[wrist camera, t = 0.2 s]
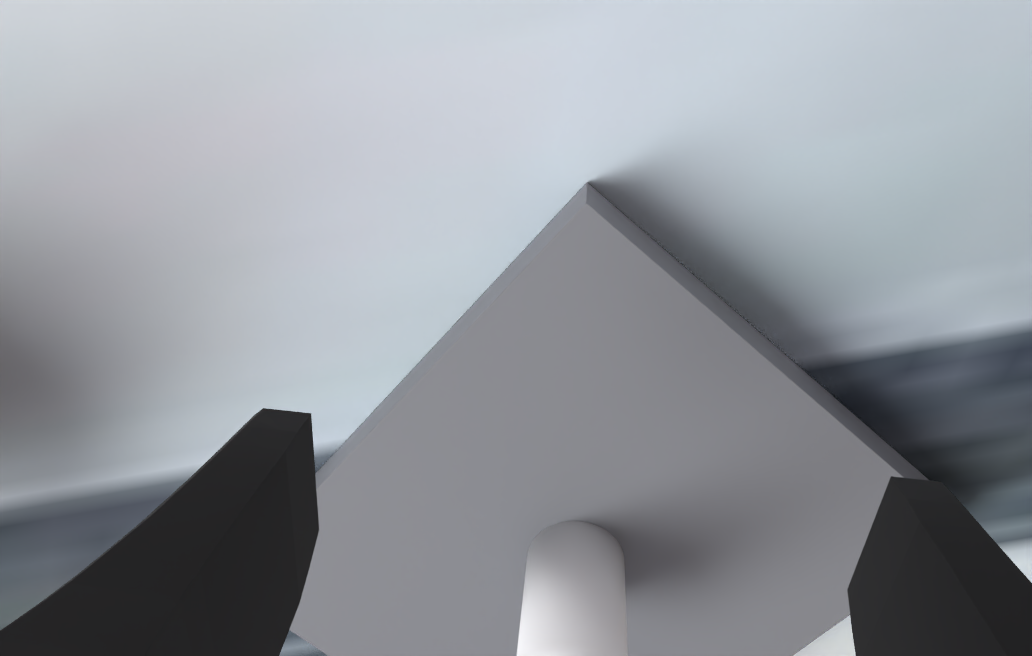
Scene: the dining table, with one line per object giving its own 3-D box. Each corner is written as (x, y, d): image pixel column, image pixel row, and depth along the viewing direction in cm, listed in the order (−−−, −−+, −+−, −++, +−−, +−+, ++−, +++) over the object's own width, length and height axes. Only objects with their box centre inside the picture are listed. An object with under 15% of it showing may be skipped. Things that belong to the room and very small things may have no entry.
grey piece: (569, 771, 29) (563, 956, 24) (244, 549, 26) (161, 706, 21) (945, 494, 24) (1037, 657, 19) (587, 182, 21) (583, 276, 16)
